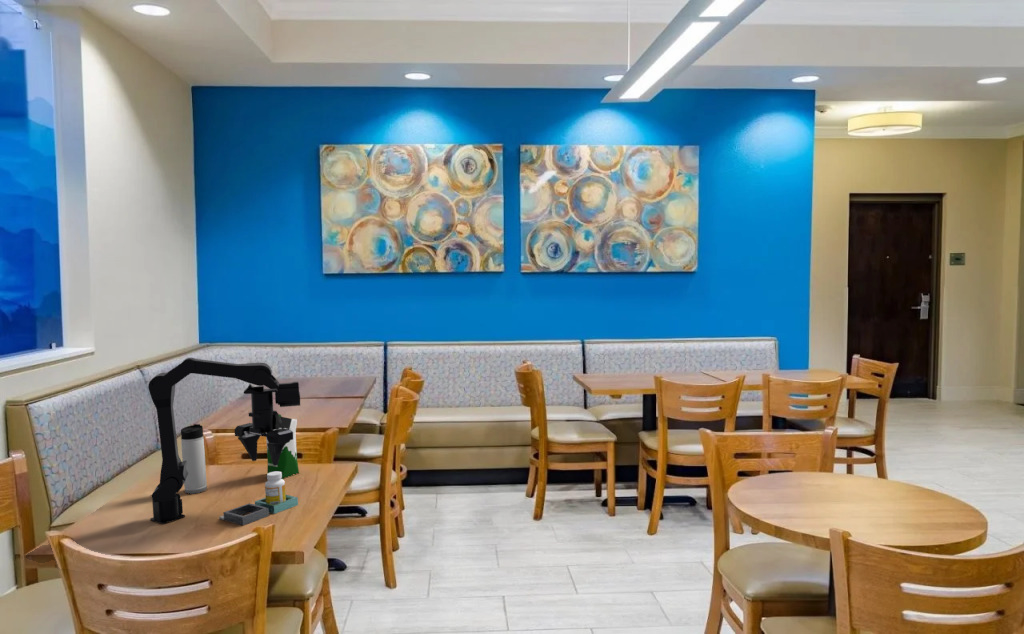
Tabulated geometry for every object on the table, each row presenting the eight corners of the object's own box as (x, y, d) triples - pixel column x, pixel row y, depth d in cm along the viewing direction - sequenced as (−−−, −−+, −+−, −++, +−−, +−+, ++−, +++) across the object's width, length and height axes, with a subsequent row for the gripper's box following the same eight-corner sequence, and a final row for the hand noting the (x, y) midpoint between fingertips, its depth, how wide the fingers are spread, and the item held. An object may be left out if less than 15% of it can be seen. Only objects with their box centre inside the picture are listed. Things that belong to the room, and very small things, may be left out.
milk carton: (263, 476, 235) (259, 415, 233) (285, 469, 242) (282, 410, 241) (281, 480, 230) (278, 418, 228) (303, 472, 238) (300, 412, 236)
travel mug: (211, 487, 225) (207, 423, 224) (200, 494, 219) (195, 428, 217) (192, 487, 226) (188, 424, 224) (180, 494, 219) (176, 429, 218)
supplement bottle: (279, 502, 208) (277, 469, 208) (290, 506, 205) (288, 472, 204) (262, 507, 204) (260, 474, 204) (273, 511, 201) (271, 477, 200)
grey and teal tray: (243, 525, 191) (242, 517, 190) (219, 519, 196) (218, 511, 196) (298, 504, 206) (297, 497, 206) (274, 499, 211) (274, 491, 211)
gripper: (307, 406, 204) (309, 460, 206) (265, 400, 215) (267, 452, 216) (275, 413, 195) (277, 470, 196) (232, 407, 206) (234, 461, 207)
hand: (264, 463), depth 204 cm, fingers open, 9 cm apart
